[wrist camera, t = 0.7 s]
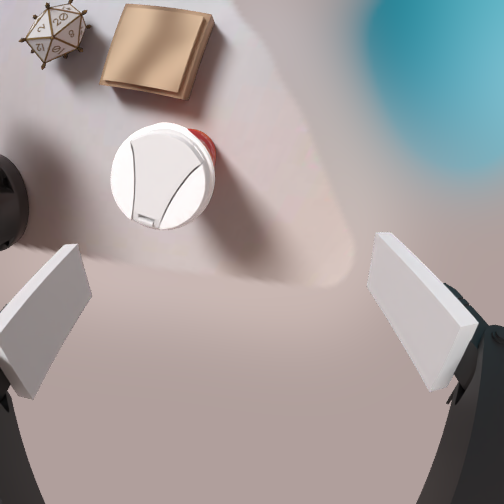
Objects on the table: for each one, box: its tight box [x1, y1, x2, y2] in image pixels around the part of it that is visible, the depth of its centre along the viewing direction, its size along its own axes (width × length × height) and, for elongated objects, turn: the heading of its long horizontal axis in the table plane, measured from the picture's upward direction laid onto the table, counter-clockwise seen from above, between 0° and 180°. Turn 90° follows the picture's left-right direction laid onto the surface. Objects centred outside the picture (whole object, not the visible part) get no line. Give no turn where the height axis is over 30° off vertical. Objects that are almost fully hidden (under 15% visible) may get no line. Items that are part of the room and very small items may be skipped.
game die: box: [19, 0, 92, 70], centre depth 23 cm, size 9×8×10 cm
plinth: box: [99, 4, 215, 100], centre depth 27 cm, size 10×10×4 cm
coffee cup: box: [111, 122, 216, 230], centre depth 28 cm, size 8×8×15 cm
